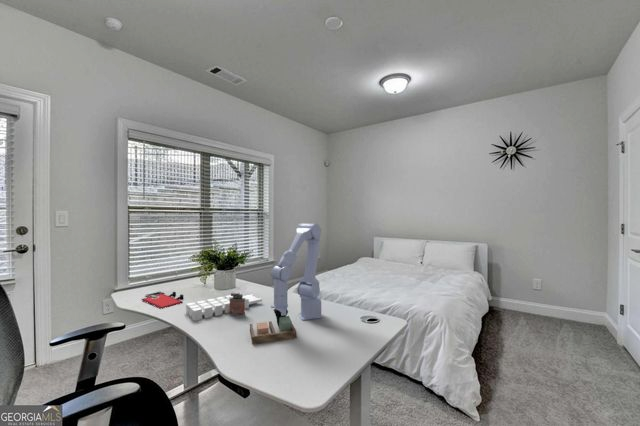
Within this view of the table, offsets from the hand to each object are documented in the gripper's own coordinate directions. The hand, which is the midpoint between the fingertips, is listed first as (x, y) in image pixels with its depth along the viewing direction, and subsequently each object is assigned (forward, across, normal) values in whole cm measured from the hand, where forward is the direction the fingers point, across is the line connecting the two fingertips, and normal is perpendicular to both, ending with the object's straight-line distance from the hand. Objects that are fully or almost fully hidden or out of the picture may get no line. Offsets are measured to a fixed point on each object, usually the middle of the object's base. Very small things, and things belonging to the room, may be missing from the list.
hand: (280, 326), depth 118 cm
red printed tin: (+1, -24, -17) cm, 29 cm away
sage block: (0, +3, +1) cm, 3 cm away
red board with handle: (+2, -60, -57) cm, 83 cm away
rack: (+1, +3, -4) cm, 5 cm away
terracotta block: (+1, +5, -8) cm, 9 cm away
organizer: (+2, -34, -22) cm, 40 cm away
